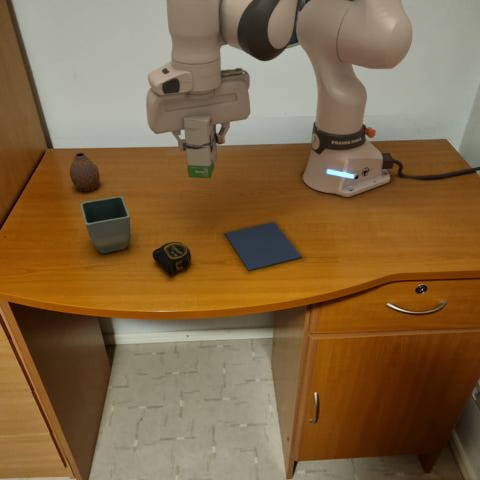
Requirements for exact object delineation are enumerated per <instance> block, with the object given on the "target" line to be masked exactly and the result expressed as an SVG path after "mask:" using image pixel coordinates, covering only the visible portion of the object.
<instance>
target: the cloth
mask: <svg viewBox="0 0 480 480" xmlns="http://www.w3.org/2000/svg"><path fill="white" fill-rule="evenodd" d="M224 236H225V237H226V238H227V240H228V242H229V243H230V245H231V247H232V248H233V250H234V251H235V253H236V255H238V257H239V259H240V261H241V262H242V263H243V265H244V267H245V268H246V269H247V271H248V272H252V271H256V270H259V269H264V268H269V267H272V266H276V265H280V264H284V263H287V262H291V261H292V262H293V261H296V260H299V259H302V258H303V256H302V255H301V254H300V253H299V251H298V250H297V249H296V247H295V246H294V245H293V243H291V241H290V240H289V239H288V238H287V237H286V235H285V234H284V233H283V232H282V230H281V229H280V228H279V226H278V225H277V224H276V223H275V221H272V222H268V223H263V224H259V225H254V226H250V227H245V228H241V229H236V230H233V231H228V232H224Z"/></svg>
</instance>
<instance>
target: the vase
mask: <svg viewBox="0 0 480 480" xmlns="http://www.w3.org/2000/svg"><path fill="white" fill-rule="evenodd" d="M69 177H70V180H71V183H72V184H73V186H75V188H77V189H78V190H80V191H81V192H91V191H94V190H95V189H96V188H98V186H99V184H100V179H101V178H100V171H99V168H98V166H97V164H96V163H95V162H94V161H93V160H92V159H91V158H89V157H88V156H87V154H86V153H85V152H82V151H80V152H76V153H75V154H74V157H73V160H72V161H71V163H70V167H69Z"/></svg>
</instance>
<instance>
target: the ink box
mask: <svg viewBox="0 0 480 480" xmlns="http://www.w3.org/2000/svg"><path fill="white" fill-rule="evenodd" d="M183 131H184V139H185V143H186V151H185V153H186V167H187V175H188V178H193V179H211V178H212V176H213V173H214V170H215V167H216V164H217V161H218V147H217V146H218V144H217V143H216V140H215V139H216V137H215V134H216V133H217V124H215V125H212V118H211V115H202V116H192V117H185V118H184V130H183Z"/></svg>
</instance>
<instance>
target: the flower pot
mask: <svg viewBox="0 0 480 480" xmlns="http://www.w3.org/2000/svg"><path fill="white" fill-rule="evenodd" d="M79 206H80V208H81V212H82V216H83V221H84V224H85V228H86V230H87V233H88V236H89V238H90V241H91V243H92V245H93V246H94V248H95V249H96V250H97V251H98V252H99V253H101V254H108V253H113V252H118V251H123V250H126V249H127V247H128V245H129V243H130V239H131V215H130V212H129V210H128V207H127V205H126V203H125V200H124V197H123V196H121V195H119V196H112V197H107V198H106V197H105V198H101V199H95V200H88V201H83V202H81V203H80V204H79Z"/></svg>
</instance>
